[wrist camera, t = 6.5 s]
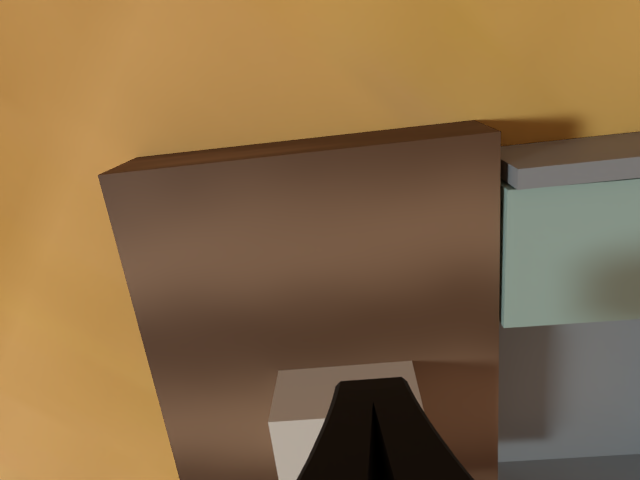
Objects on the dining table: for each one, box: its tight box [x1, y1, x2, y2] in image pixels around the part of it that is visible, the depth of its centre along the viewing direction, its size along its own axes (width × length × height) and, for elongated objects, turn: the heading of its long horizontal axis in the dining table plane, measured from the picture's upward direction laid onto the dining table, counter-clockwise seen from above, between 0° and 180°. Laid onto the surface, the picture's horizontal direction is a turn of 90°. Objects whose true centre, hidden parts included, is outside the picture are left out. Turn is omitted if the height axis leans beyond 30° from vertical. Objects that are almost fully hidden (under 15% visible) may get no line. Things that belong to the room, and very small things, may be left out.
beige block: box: [268, 361, 424, 480], centre depth 16 cm, size 5×5×3 cm
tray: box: [498, 132, 640, 480], centre depth 17 cm, size 14×7×4 cm, turn 7°
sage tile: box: [499, 178, 640, 328], centre depth 16 cm, size 5×5×3 cm
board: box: [98, 120, 501, 480], centre depth 18 cm, size 13×12×3 cm
